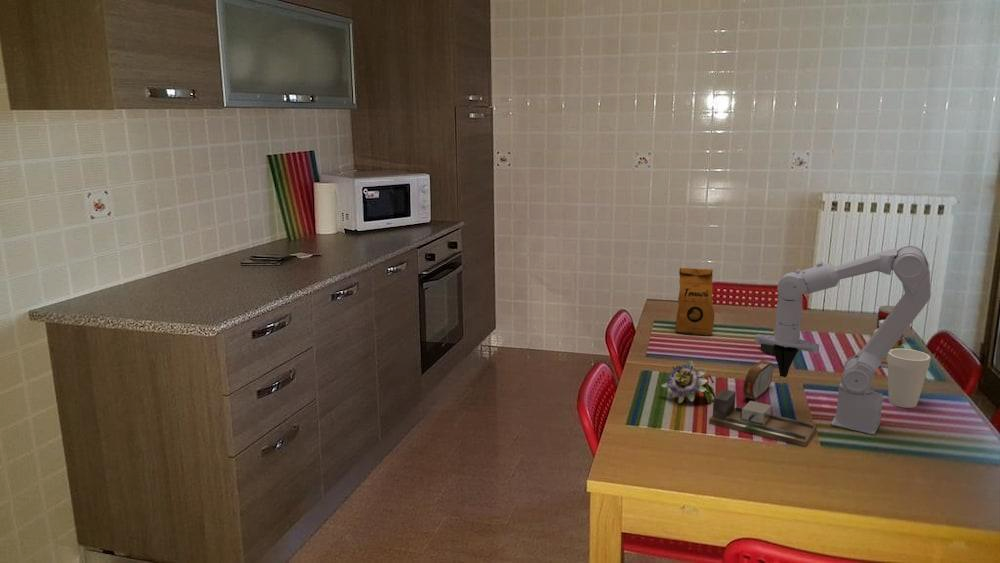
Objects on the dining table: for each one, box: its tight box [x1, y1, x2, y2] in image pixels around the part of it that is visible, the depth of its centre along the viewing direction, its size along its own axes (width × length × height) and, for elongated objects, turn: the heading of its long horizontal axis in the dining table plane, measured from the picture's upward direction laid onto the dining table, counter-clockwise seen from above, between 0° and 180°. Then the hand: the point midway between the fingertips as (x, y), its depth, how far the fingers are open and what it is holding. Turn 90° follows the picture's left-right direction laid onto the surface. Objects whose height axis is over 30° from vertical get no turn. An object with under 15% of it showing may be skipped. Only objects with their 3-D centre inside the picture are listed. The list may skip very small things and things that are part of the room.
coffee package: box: [675, 267, 715, 336], centre depth 244 cm, size 10×12×22 cm
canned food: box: [876, 305, 904, 346], centre depth 234 cm, size 8×8×11 cm
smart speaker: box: [760, 343, 774, 356], centre depth 227 cm, size 9×9×4 cm
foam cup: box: [887, 348, 932, 409], centre depth 186 cm, size 10×9×13 cm
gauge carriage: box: [740, 400, 772, 425], centre depth 173 cm, size 6×8×3 cm
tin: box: [742, 359, 774, 400], centre depth 193 cm, size 15×3×8 cm, turn 141°
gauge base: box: [708, 388, 818, 447], centre depth 173 cm, size 22×10×6 cm, turn 54°
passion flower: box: [660, 359, 716, 405], centre depth 190 cm, size 11×11×12 cm
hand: (783, 375), depth 181 cm, fingers closed
